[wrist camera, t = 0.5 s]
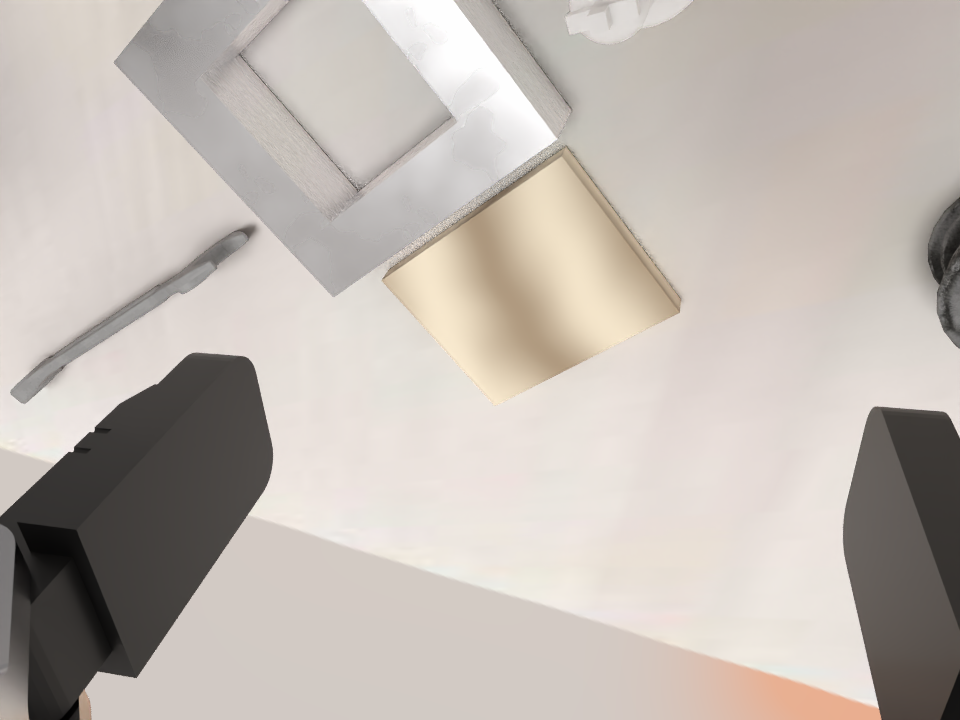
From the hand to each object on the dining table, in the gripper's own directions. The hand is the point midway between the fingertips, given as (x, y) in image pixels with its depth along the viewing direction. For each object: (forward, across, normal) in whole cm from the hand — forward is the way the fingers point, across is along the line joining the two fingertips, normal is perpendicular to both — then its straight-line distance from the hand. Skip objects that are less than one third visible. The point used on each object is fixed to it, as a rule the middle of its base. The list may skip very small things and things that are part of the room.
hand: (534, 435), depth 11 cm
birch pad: (+22, +4, +9) cm, 24 cm away
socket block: (+22, +10, 0) cm, 24 cm away
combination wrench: (+24, +25, +12) cm, 37 cm away
